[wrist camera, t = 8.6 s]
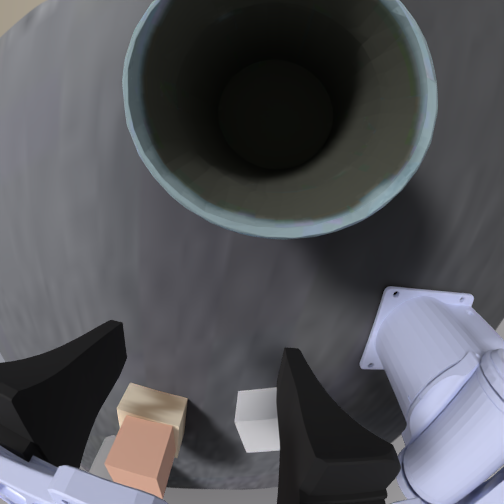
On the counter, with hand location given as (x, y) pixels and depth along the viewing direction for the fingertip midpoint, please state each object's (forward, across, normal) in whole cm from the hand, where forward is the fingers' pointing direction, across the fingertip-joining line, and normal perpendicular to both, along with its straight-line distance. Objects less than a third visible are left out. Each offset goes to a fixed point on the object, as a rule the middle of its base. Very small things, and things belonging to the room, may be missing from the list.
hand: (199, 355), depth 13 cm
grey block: (+11, -5, +14) cm, 18 cm away
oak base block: (+11, +6, +17) cm, 21 cm away
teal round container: (+11, -2, -11) cm, 15 cm away
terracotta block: (+7, +6, +17) cm, 19 cm away
